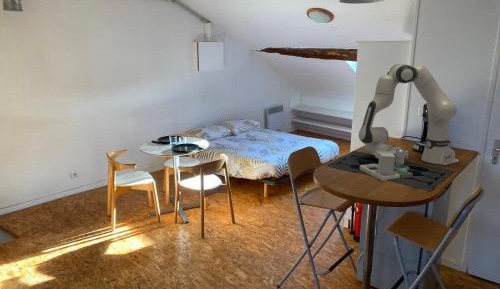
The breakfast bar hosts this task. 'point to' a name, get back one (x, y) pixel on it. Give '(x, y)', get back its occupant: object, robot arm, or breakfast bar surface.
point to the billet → (399, 158)
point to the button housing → (402, 176)
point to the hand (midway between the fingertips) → (400, 157)
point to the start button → (403, 170)
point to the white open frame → (375, 172)
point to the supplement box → (386, 164)
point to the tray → (399, 168)
